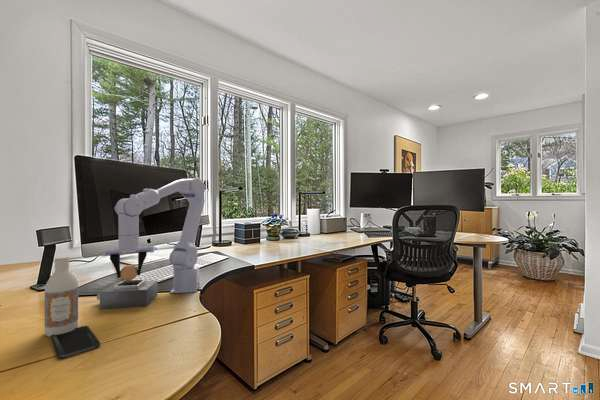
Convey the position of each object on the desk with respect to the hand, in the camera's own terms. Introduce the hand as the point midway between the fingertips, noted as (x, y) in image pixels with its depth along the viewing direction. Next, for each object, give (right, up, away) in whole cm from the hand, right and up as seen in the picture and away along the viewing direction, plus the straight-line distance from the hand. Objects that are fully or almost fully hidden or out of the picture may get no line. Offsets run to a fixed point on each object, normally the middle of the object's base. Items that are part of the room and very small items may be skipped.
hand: (129, 275), depth 93 cm
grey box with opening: (-4, -10, +5) cm, 12 cm away
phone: (0, -11, -23) cm, 25 cm away
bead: (0, +1, 0) cm, 1 cm away
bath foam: (-8, -11, -17) cm, 21 cm away
